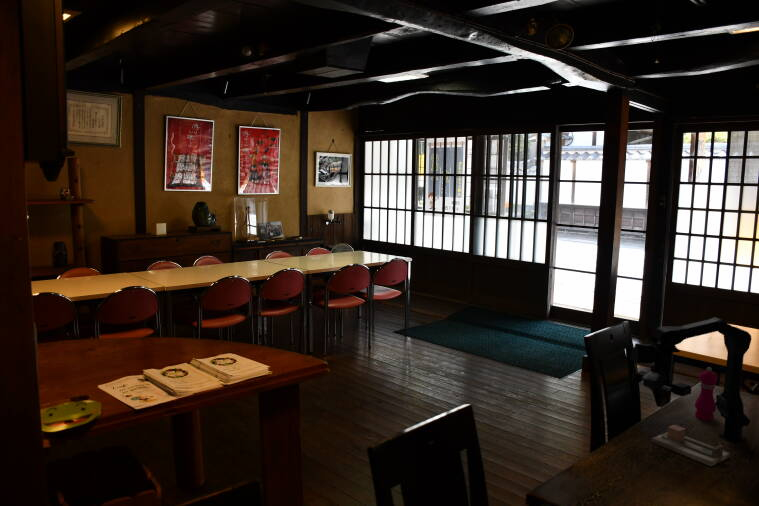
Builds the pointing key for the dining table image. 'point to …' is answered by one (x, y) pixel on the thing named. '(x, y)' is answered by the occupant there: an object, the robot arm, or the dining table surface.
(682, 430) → the terracotta cardboard box
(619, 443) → the dining table surface
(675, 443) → the track board
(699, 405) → the pepper mill
